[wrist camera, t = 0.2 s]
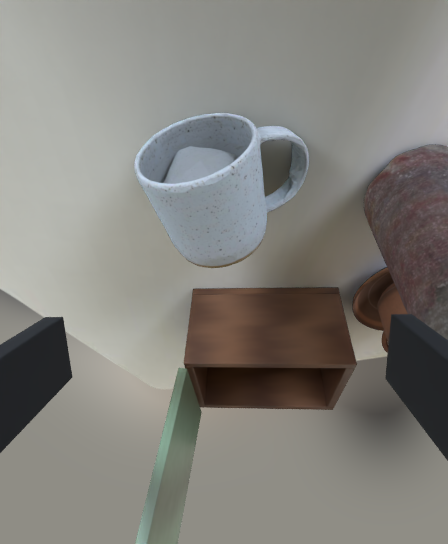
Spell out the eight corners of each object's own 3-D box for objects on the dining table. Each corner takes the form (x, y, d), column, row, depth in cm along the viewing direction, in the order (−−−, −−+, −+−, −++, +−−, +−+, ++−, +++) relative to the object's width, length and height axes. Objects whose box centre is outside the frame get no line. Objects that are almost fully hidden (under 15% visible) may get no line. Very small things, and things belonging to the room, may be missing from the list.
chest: (338, 287, 35) (357, 364, 29) (320, 341, 44) (332, 409, 38) (193, 288, 36) (183, 363, 30) (204, 341, 45) (198, 407, 39)
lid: (126, 631, 19) (113, 628, 19) (165, 609, 28) (156, 607, 28) (187, 368, 30) (178, 367, 30) (201, 411, 38) (195, 411, 39)
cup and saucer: (446, 316, 38) (470, 366, 34) (340, 318, 39) (351, 367, 35) (502, 241, 29) (544, 296, 25) (362, 246, 30) (380, 300, 26)
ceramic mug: (183, 217, 28) (172, 286, 23) (144, 126, 22) (118, 192, 17) (308, 195, 26) (325, 265, 21) (301, 87, 20) (324, 149, 15)
